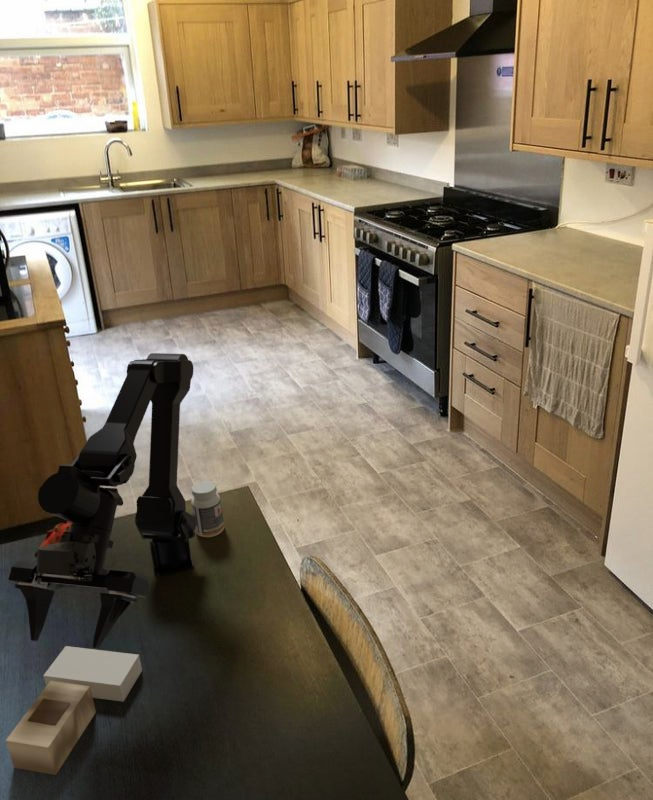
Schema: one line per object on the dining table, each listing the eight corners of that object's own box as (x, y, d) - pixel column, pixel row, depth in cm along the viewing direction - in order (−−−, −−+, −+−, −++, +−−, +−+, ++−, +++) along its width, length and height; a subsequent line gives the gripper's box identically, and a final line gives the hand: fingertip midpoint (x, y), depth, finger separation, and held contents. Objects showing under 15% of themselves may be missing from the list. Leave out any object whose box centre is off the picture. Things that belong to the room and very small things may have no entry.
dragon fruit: (111, 558, 134) (48, 585, 130) (97, 520, 137) (35, 545, 133) (104, 543, 126) (36, 571, 123) (89, 503, 130) (23, 529, 126)
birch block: (50, 679, 97) (5, 739, 88) (89, 685, 95) (47, 746, 86) (57, 707, 99) (14, 768, 90) (96, 713, 97) (56, 776, 89)
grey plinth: (69, 661, 107) (65, 646, 106) (142, 670, 104) (139, 654, 103) (47, 691, 101) (43, 675, 100) (123, 701, 99) (120, 685, 98)
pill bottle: (229, 524, 140) (224, 481, 136) (216, 540, 135) (210, 496, 131) (203, 520, 141) (198, 477, 137) (190, 536, 136) (183, 492, 133)
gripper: (-1, 512, 95) (-35, 633, 89) (125, 522, 91) (99, 649, 85) (44, 529, 105) (16, 638, 99) (159, 538, 101) (137, 653, 95)
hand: (64, 644), depth 94 cm, fingers open, 9 cm apart
